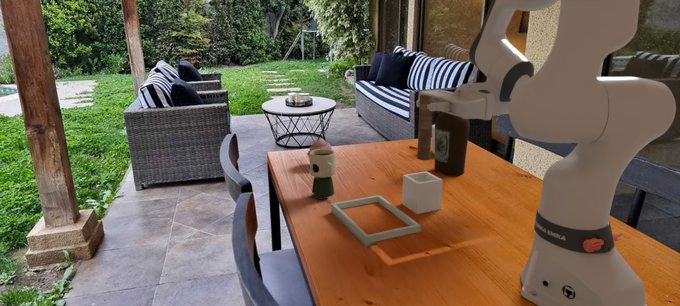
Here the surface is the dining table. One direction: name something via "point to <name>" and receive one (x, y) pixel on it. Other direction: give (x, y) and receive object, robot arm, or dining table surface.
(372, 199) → the sage tray
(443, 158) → the olive oil
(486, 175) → the dining table surface
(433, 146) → the white cup
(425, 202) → the white square sleeve
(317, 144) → the cupcake
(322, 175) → the character mug
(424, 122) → the walnut pin
